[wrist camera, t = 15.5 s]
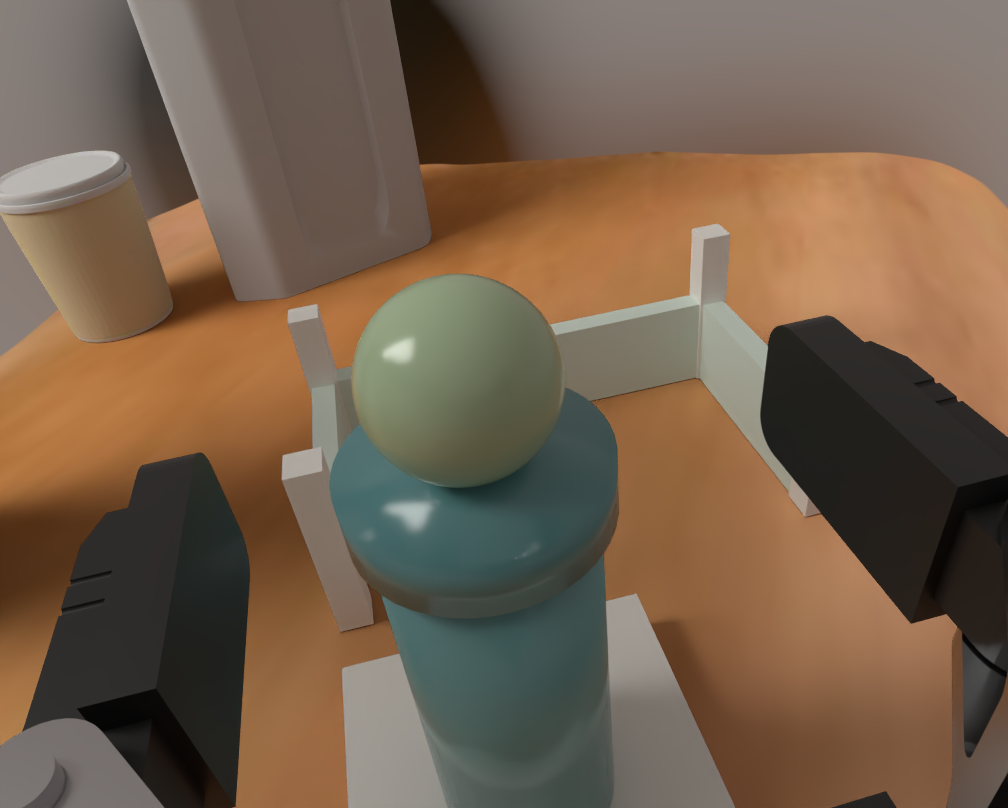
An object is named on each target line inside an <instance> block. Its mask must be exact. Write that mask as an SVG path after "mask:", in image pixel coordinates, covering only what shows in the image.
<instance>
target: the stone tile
mask: <svg viewBox="0 0 1008 808" xmlns="http://www.w3.org/2000/svg"><path fill="white" fill-rule="evenodd" d="M606 615H607V637H608V658H609V680H610V701H611V723H612V744H613V766H614V792H613V799H612V803H611V806H610V808H735V806H734V804H733V801H732V799H731V797H730V795H729V793H728V791H727V788H726V786H725V784H724V782H723V780H722V778H721V775H720V773H719V771H718V769H717V767H716V765H715V763H714V760H713V758H712V756H711V754H710V752H709V750H708V747H707V745H706V743H705V741H704V739H703V737H702V734H701V732H700V730H699V728H698V726H697V724H696V721H695V719H694V717H693V715H692V713H691V711H690V708H689V706H688V704H687V702H686V700H685V698H684V695H683V693H682V691H681V689H680V687H679V685H678V682H677V680H676V678H675V676H674V674H673V672H672V669H671V667H670V665H669V663H668V661H667V659H666V656H665V654H664V652H663V650H662V648H661V646H660V643H659V641H658V639H657V637H656V635H655V633H654V631H653V628H652V626H651V624H650V622H649V620H648V618H647V615H646V613H645V611H644V609H643V607H642V605H641V602H640V600H639V598H638V596H637V594H633V595H629V596H625V597H621V598H617V599H613V600H609V601H606ZM342 682H343V703H344V725H345V747H346V768H347V790H348V808H448V807H447V804H446V801H445V798H444V794H443V791H442V788H441V785H440V782H439V778H438V775H437V772H436V769H435V766H434V763H433V759H432V756H431V753H430V750H429V747H428V743H427V740H426V737H425V734H424V731H423V727H422V724H421V721H420V718H419V715H418V711H417V708H416V705H415V702H414V699H413V695H412V692H411V689H410V686H409V683H408V679H407V676H406V673H405V670H404V667H403V663H402V660H401V657H400V654H395V655H391V656H387V657H383V658H380V659H376V660H372V661H368V662H364V663H360V664H356V665H352V666H348V667H344V668H342Z"/></svg>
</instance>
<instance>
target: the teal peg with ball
mask: <svg viewBox="0 0 1008 808" xmlns="http://www.w3.org/2000/svg"><path fill="white" fill-rule="evenodd" d="M351 385H352V396H353V401H354V406H355V410H356V414H357V416H358V419H359V422H360V424H359V425H358V426H357V427H356V428H354V430H353V431H352V432H351V433H350V434H349V436H348V437H347V438H346V439H345V441H344V442H343V444H342V446H341V447H340V449H339V450H338V452H337V455H336V457H335V459H334V461H333V465H332V469H331V473H330V483H329V489H330V496H331V501H332V504H333V507H334V510H335V513H336V516H337V519H338V522H339V525H340V528H341V531H342V534H343V537H344V540H345V543H346V546H347V549H348V552H349V554H350V557H351V560H352V562H353V564H354V566H355V568H356V569H357V571H358V573H359V574H360V576H361V577H362V578H363V579H364V580H365V581H366V583H367V584H368V585H369V586H370V587H371V588H373V589H374V590H375V591H376V592H378V593H379V594H380V595H381V596H382V600H383V603H384V606H385V609H386V612H387V616H388V619H389V622H390V625H391V628H392V631H393V635H394V638H395V641H396V644H397V647H398V651H399V654H400V657H401V660H402V663H403V667H404V670H405V673H406V676H407V679H408V683H409V686H410V689H411V692H412V695H413V699H414V702H415V705H416V708H417V711H418V715H419V718H420V721H421V724H422V727H423V731H424V734H425V737H426V740H427V743H428V747H429V750H430V753H431V756H432V759H433V763H434V766H435V769H436V772H437V775H438V778H439V782H440V785H441V788H442V791H443V794H444V798H445V801H446V804H447V807H448V808H610V806H611V803H612V799H613V792H614V766H613V744H612V723H611V701H610V680H609V658H608V637H607V615H606V594H605V572H604V552H605V551H606V549H607V547H608V545H609V544H610V542H611V540H612V537H613V535H614V532H615V529H616V526H617V521H618V515H619V496H618V460H617V444H616V440H615V435H614V433H613V430H612V428H611V426H610V424H609V422H608V421H607V419H606V418H605V416H604V415H603V414H602V413H601V412H600V411H599V409H598V408H597V407H596V406H595V405H594V404H592V403H591V402H590V401H588V400H587V399H586V398H585V397H583V396H581V395H580V394H578V393H576V392H575V391H573V390H571V389H569V388H566V373H565V367H564V360H563V354H562V351H561V348H560V345H559V342H558V340H557V337H556V335H555V333H554V331H553V329H552V327H551V326H550V324H549V323H548V321H547V320H546V319H545V317H544V316H543V314H542V313H541V312H540V311H539V310H538V309H537V308H536V307H535V306H534V305H533V304H532V303H531V302H530V301H529V300H528V299H527V298H526V297H525V296H523V295H522V294H520V293H519V292H518V291H516V290H515V289H513V288H511V287H509V286H507V285H505V284H503V283H501V282H499V281H496V280H493V279H490V278H486V277H483V276H478V275H473V274H445V275H439V276H434V277H430V278H427V279H423V280H421V281H418V282H415V283H413V284H411V285H409V286H407V287H405V288H404V289H402V290H401V291H399V292H398V293H396V294H395V295H393V296H392V297H391V298H390V299H388V300H387V301H386V302H385V303H384V304H383V305H382V306H381V307H380V308H379V309H378V310H377V311H376V313H375V314H374V315H373V317H372V318H371V320H370V321H369V323H368V324H367V325H366V327H365V329H364V331H363V333H362V335H361V338H360V340H359V342H358V345H357V348H356V352H355V355H354V359H353V365H352V374H351Z"/></svg>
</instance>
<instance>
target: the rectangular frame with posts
mask: <svg viewBox="0 0 1008 808" xmlns="http://www.w3.org/2000/svg"><path fill="white" fill-rule="evenodd" d="M729 246H730V233H728V232H727V231H726V230H725V229H724V228H723V227H721V226H720V225H719V224H714V225H709V226H704V227H699V228H694V229H692V246H691V273H690V295H689V296H684V297H679V298H674V299H670V300H665V301H660V302H655V303H650V304H646V305H641V306H636V307H631V308H627V309H622V310H617V311H612V312H608V313H603V314H598V315H593V316H589V317H584V318H579V319H574V320H570V321H565V322H560V323H555V324H551V325H550V326H551V327H552V329H553V331H554V333H555V335H556V337H557V340H558V342H559V345H560V348H561V351H562V354H563V360H564V367H565V373H566V388H569V389H571V390H573V391H575V392H576V393H578V394H580V395H581V396H583V397H585V398H586V399H587V400H588V401H593V400H598V399H602V398H606V397H611V396H615V395H620V394H624V393H629V392H633V391H638V390H642V389H647V388H651V387H656V386H660V385H665V384H669V383H674V382H678V381H683V380H687V379H692V378H697V379H699V378H700V379H701V381H702V382H703V383H704V385H705V386H706V387H707V388H708V390H709V391H710V392H711V393H712V395H713V396H714V397H715V399H716V400H717V401H718V402H719V404H720V405H721V406H722V407H723V409H724V410H725V411H726V413H727V414H728V415H729V416H730V418H731V419H732V420H733V421H734V423H735V424H736V425H737V426H738V428H739V429H740V430H741V432H742V433H743V434H744V435H745V437H746V438H747V439H748V440H749V442H750V443H751V444H752V446H753V447H754V448H755V449H756V451H757V452H758V453H759V454H760V456H761V457H762V458H763V460H764V461H765V462H766V463H767V465H768V466H769V467H770V468H771V470H772V471H773V472H774V474H775V475H776V476H777V477H778V479H779V480H780V481H781V482H782V484H783V485H784V486H785V488H786V489H787V490H788V491H789V497H790V498H791V500H792V501H793V502H794V503H795V505H796V506H797V507H798V508H799V510H800V511H801V512H802V514H803V515H804V516H805V517H807V516H811V515H815V514H819V513H820V511H819V510H818V509H817V508H816V506H815V505H814V504H813V503H812V501H811V500H810V499H809V498H808V497H807V495H806V494H805V493H804V492H803V490H802V489H801V488H800V487H799V485H798V484H797V483H796V482H795V481H794V479H793V478H792V477H791V476H790V474H789V473H788V472H787V471H786V469H785V468H784V467H783V466H782V465H781V463H780V462H779V461H778V460H777V458H776V457H775V456H774V455H773V453H772V452H771V450H770V449H769V447H768V445H767V443H766V441H765V438H764V435H763V432H762V427H761V421H760V409H761V400H762V392H763V384H764V376H765V367H766V359H767V351H768V346H767V345H766V344H765V343H764V342H763V341H762V340H761V339H760V338H759V337H758V336H757V335H756V334H755V333H754V332H753V331H752V329H751V328H750V327H749V326H748V325H747V324H746V323H745V322H744V321H743V320H742V319H741V318H740V317H739V316H738V315H737V314H736V313H735V312H734V311H733V310H732V309H731V308H730V307H729V306H728V305H727V304H726V290H727V275H728V261H729ZM288 326H289V329H290V332H291V335H292V338H293V341H294V344H295V347H296V350H297V353H298V356H299V360H300V363H301V366H302V369H303V372H304V375H305V378H306V381H307V384H308V387H309V390H310V393H311V396H312V442H313V449H309V450H304V451H300V452H295V453H290V454H286V455H283V459H282V482H283V485H284V488H285V490H286V493H287V495H288V498H289V501H290V503H291V506H292V508H293V511H294V514H295V516H296V519H297V521H298V524H299V527H300V529H301V532H302V534H303V537H304V540H305V542H306V545H307V547H308V550H309V553H310V555H311V558H312V560H313V563H314V566H315V568H316V571H317V573H318V576H319V579H320V581H321V584H322V586H323V589H324V592H325V594H326V597H327V599H328V602H329V605H330V607H331V610H332V612H333V615H334V618H335V620H336V623H337V625H338V628H339V631H340V632H342V631H346V630H351V629H355V628H359V627H363V626H367V625H371V624H374V620H373V609H372V598H371V595H370V592H369V589H368V586H367V583H366V581H365V580H364V579H363V578H362V577H361V576H360V574H359V573H358V571H357V569H356V568H355V566H354V564H353V562H352V560H351V557H350V554H349V552H348V549H347V546H346V543H345V540H344V537H343V534H342V531H341V528H340V525H339V522H338V519H337V516H336V513H335V510H334V507H333V504H332V501H331V496H330V489H329V483H330V473H331V469H332V465H333V461H334V459H335V457H336V455H337V452H338V450H339V449H340V447H341V446H342V444H343V442H344V441H345V439H346V438H347V437H348V436H349V434H350V433H351V432H352V431H353V430H354V428H356V427H357V426H358V425H359V424H360V422H359V419H358V416H357V414H356V410H355V406H354V401H353V396H352V385H351V374H352V366H351V367H346V368H341V369H336V366H335V362H334V359H333V355H332V352H331V349H330V345H329V342H328V338H327V335H326V332H325V328H324V325H323V321H322V318H321V314H320V311H319V308H318V304H315V305H310V306H305V307H300V308H295V309H290V310H288Z"/></svg>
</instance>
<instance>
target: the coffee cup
mask: <svg viewBox="0 0 1008 808" xmlns="http://www.w3.org/2000/svg"><path fill="white" fill-rule="evenodd" d="M0 214H1V216H2V218H3V220H4V221H5V223H6V224H7V226H8V228H9V230H10V231H11V233H12V234H13V236H14V238H15V240H16V241H17V243H18V245H19V246H20V248H21V250H22V251H23V253H24V254H25V256H26V258H27V259H28V261H29V262H30V264H31V266H32V267H33V269H34V270H35V272H36V274H37V276H38V277H39V278H40V280H41V282H42V283H43V285H44V287H45V288H46V290H47V292H48V293H49V294H50V296H51V298H52V300H53V301H54V303H55V304H56V306H57V308H58V309H59V311H60V312H61V314H62V316H63V317H64V319H65V320H66V322H67V323H68V325H69V326H70V328H71V329H72V331H73V332H74V334H75V335H76V336H77V337H78V338H79V339H80V340H82V341H86V342H91V343H103V342H112V341H117V340H121V339H125V338H129V337H132V336H135V335H137V334H140V333H142V332H144V331H146V330H148V329H150V328H152V327H154V326H156V325H157V324H159V323H160V322H162V321H163V320H164V319H165V318H166V317H167V316H168V315H169V314H170V313H171V311H172V309H173V300H172V297H171V293H170V290H169V287H168V284H167V281H166V278H165V275H164V272H163V269H162V266H161V263H160V260H159V257H158V254H157V251H156V248H155V245H154V242H153V239H152V236H151V233H150V230H149V227H148V224H147V221H146V218H145V215H144V212H143V209H142V206H141V204H140V200H139V197H138V195H137V192H136V189H135V186H134V183H133V181H132V178H131V169H130V166H129V165H128V163H126V162H125V161H123V160H122V157H121V156H120V155H119V154H117V153H115V152H110V151H86V152H79V153H72V154H67V155H62V156H57V157H53V158H49V159H45V160H42V161H38V162H35V163H32V164H29V165H26V166H23V167H21V168H18V169H16V170H13V171H11V172H9V173H7V174H6V175H3V176H2V177H0Z"/></svg>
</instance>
